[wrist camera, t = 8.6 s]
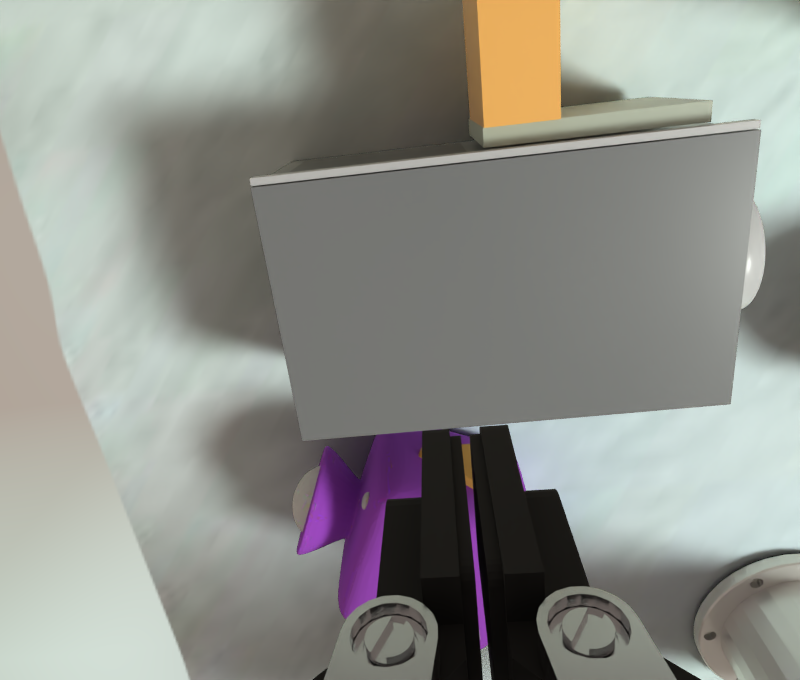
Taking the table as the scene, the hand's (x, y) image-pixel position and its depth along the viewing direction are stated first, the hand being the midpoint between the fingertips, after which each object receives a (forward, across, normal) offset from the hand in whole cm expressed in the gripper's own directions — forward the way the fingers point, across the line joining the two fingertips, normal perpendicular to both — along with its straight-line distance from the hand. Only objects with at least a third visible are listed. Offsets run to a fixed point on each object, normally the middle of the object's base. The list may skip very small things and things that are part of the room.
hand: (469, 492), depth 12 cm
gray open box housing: (+24, -3, +1) cm, 24 cm away
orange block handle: (+23, -6, -9) cm, 25 cm away
